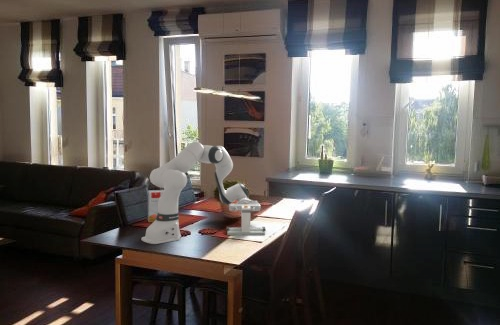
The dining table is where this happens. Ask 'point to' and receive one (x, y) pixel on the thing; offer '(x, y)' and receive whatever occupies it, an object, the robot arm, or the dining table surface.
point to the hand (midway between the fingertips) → (245, 209)
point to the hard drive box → (153, 203)
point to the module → (245, 218)
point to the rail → (250, 229)
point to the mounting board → (245, 233)
